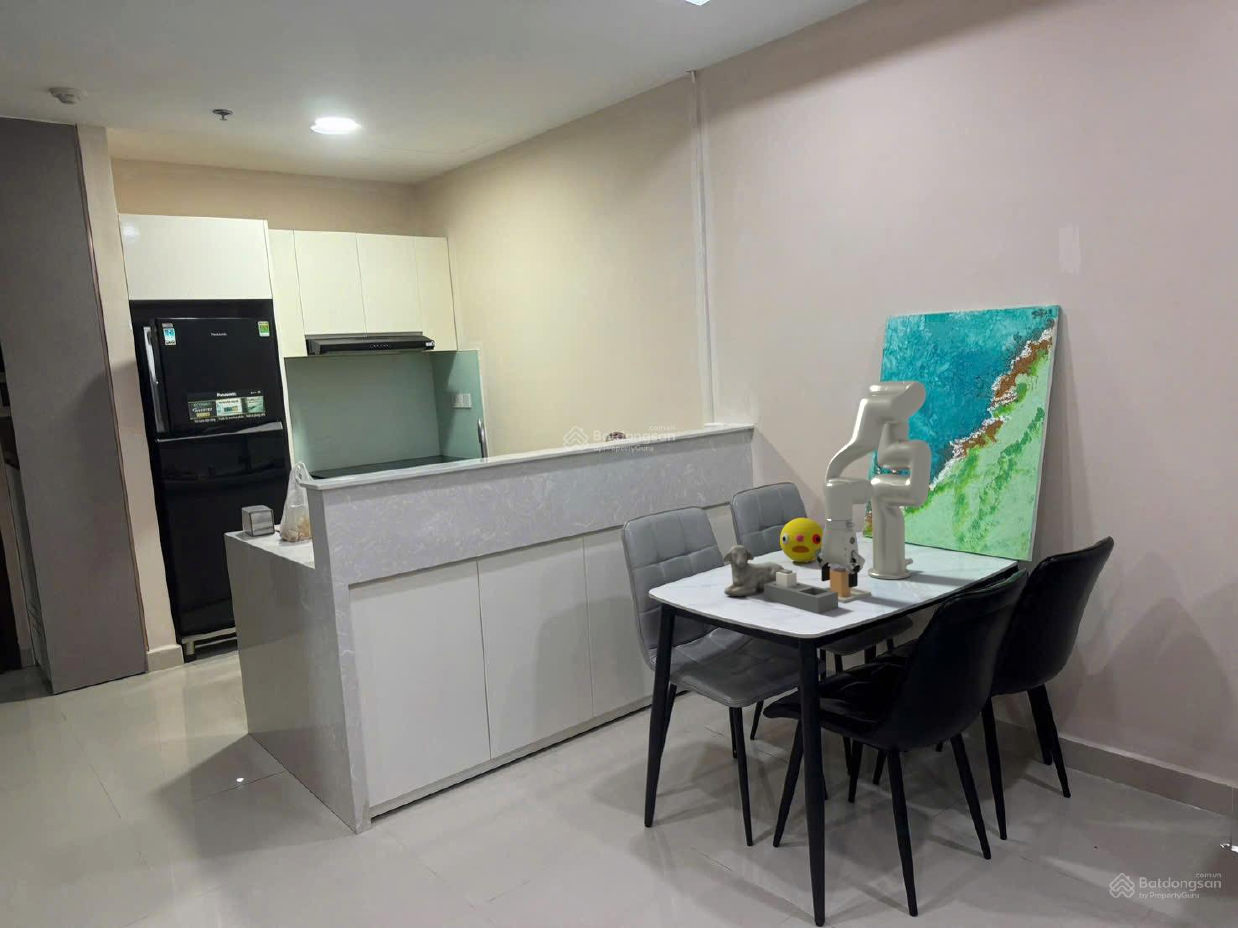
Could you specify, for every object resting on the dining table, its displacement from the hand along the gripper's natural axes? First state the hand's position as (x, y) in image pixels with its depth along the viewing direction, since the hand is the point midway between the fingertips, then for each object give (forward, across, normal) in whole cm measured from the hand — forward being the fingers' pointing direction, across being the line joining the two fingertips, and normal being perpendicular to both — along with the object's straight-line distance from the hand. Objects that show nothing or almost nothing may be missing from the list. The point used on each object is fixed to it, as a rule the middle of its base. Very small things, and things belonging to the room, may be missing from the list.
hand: (839, 583), depth 234 cm
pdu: (+4, +2, +14) cm, 15 cm away
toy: (+4, +35, -24) cm, 42 cm away
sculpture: (+4, +20, +12) cm, 24 cm away
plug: (+3, 0, -1) cm, 3 cm away
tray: (+4, 0, -1) cm, 4 cm away
